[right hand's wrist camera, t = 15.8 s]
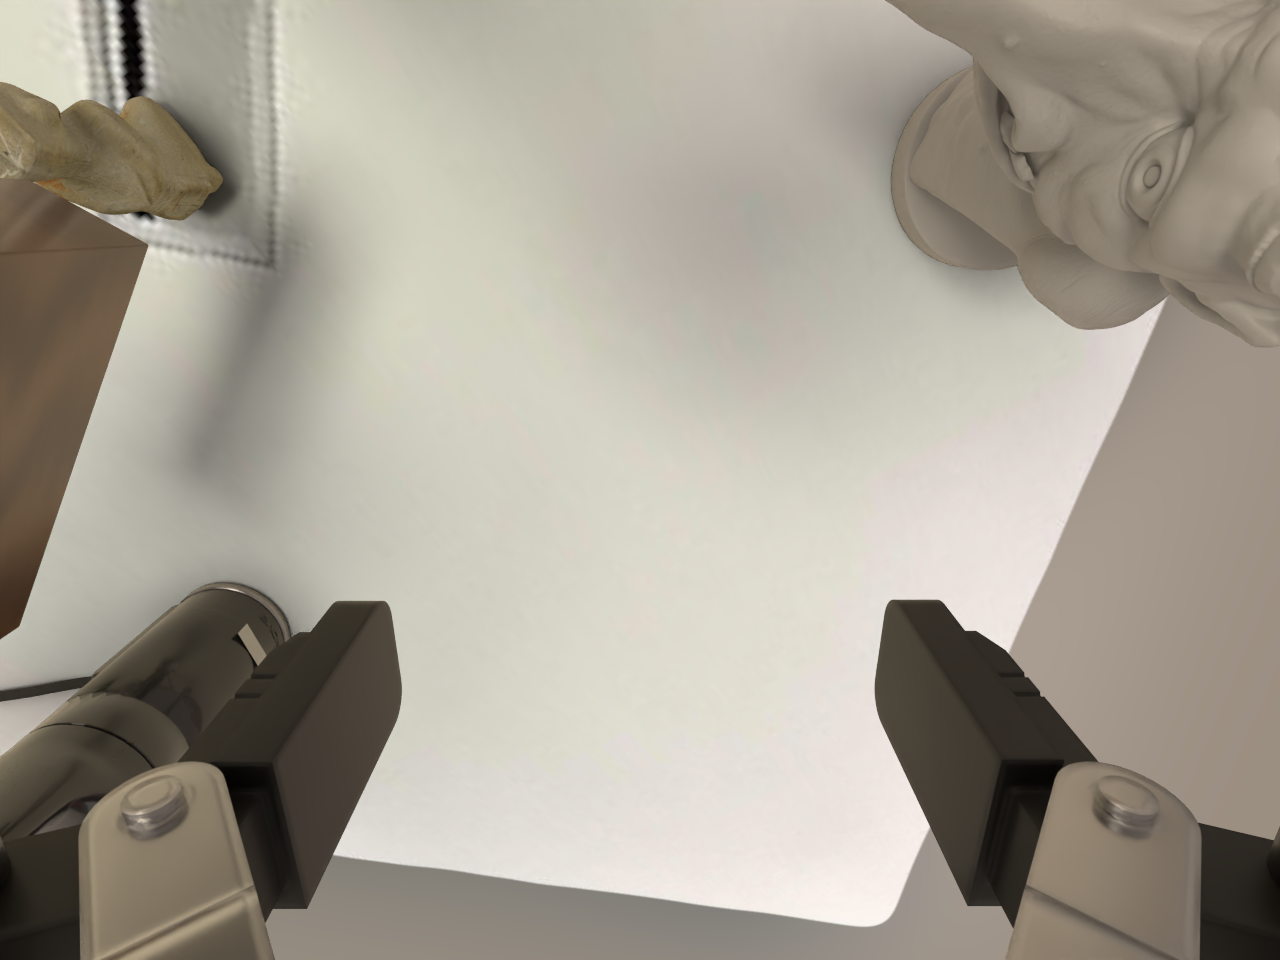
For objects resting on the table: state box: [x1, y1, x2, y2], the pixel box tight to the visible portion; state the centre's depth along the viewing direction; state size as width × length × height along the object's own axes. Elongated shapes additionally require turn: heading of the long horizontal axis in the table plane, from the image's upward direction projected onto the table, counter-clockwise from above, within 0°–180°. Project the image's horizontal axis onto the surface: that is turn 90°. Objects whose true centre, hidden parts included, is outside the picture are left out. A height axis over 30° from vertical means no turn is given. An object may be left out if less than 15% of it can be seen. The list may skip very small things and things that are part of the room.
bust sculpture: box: [886, 0, 1280, 347], centre depth 30 cm, size 16×24×35 cm
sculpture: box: [0, 82, 223, 220], centre depth 40 cm, size 6×7×15 cm
